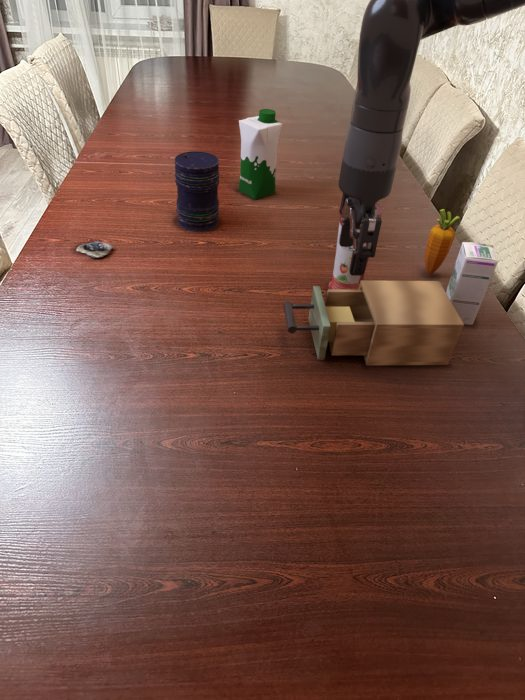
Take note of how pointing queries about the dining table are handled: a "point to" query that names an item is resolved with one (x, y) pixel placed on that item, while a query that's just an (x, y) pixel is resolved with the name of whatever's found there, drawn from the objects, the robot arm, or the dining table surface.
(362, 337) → the drawer
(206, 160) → the storage jar
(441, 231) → the carrot
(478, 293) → the syrup box
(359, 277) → the liquor
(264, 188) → the milk carton
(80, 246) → the oyster shell
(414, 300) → the cabinet
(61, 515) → the dining table surface
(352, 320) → the block
